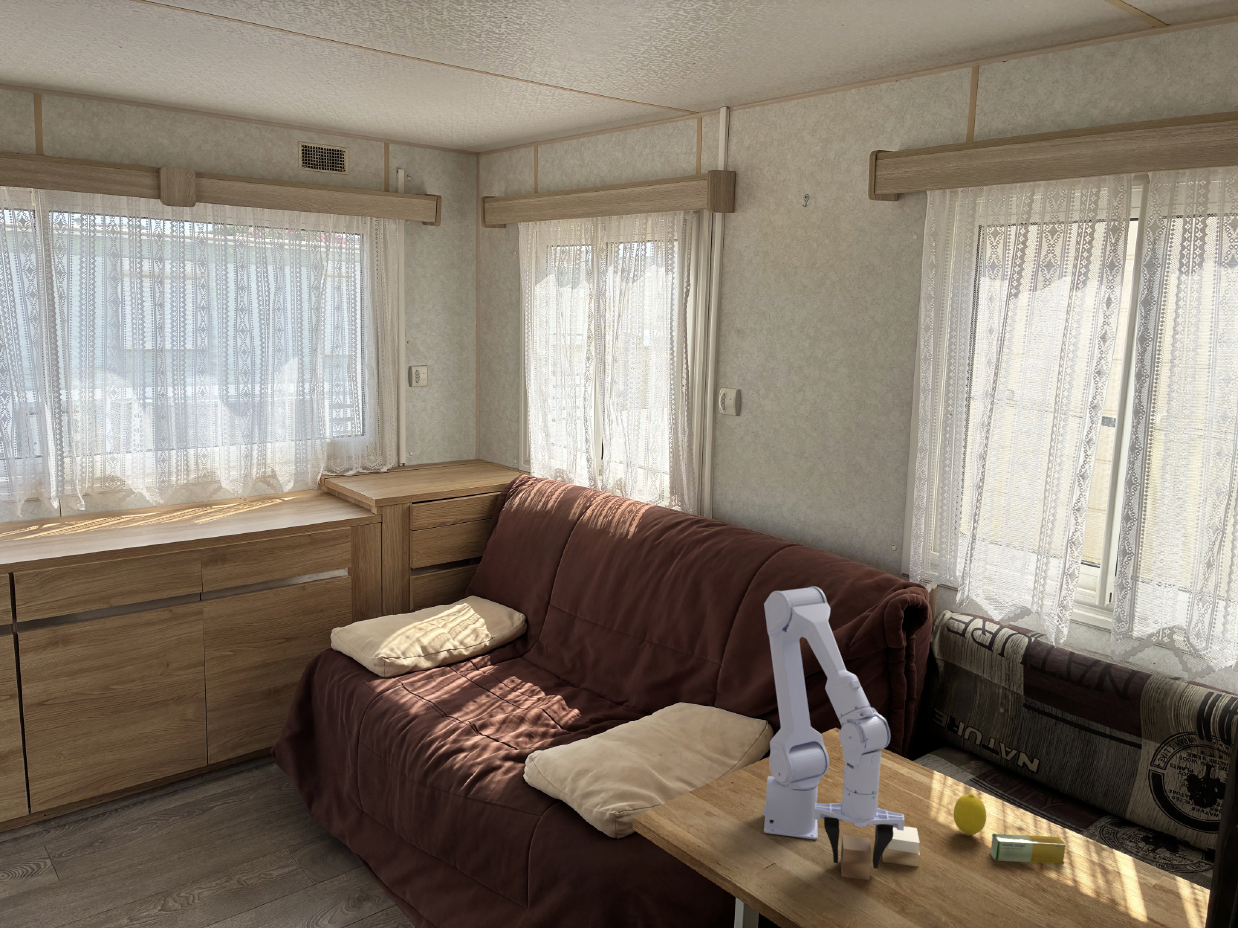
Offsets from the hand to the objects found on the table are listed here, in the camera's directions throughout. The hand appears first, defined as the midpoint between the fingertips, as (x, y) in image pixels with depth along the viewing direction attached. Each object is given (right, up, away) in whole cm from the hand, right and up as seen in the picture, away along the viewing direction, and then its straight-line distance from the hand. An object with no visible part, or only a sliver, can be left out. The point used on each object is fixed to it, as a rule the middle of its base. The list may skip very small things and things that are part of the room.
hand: (855, 862), depth 156 cm
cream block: (+10, +1, +5) cm, 11 cm away
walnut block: (0, -2, 0) cm, 2 cm away
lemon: (+24, -1, +13) cm, 27 cm away
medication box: (+31, -2, +6) cm, 32 cm away
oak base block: (+9, -1, +6) cm, 11 cm away
